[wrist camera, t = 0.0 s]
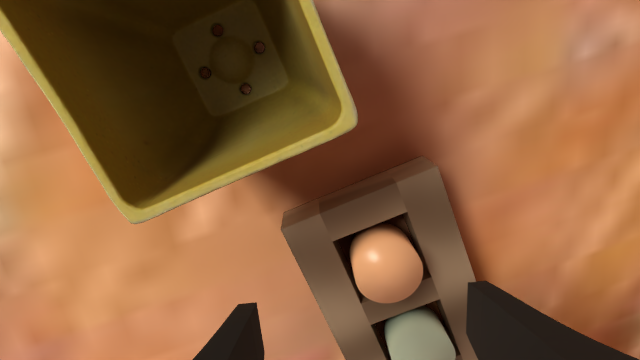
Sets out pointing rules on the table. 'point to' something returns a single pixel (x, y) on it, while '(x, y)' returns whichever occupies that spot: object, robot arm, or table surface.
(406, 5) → the table surface
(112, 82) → the flower pot
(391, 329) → the sage button
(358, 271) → the orange button
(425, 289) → the button board
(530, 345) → the robot arm
